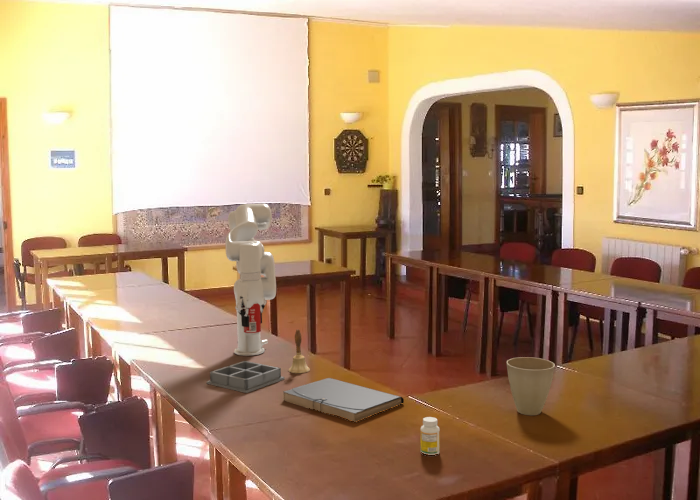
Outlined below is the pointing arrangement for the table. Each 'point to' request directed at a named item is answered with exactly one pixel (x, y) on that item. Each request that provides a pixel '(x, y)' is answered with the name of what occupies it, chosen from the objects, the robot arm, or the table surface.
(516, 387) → the plant pot
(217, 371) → the drink carrier
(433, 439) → the supplement bottle
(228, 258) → the robot arm
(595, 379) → the table surface
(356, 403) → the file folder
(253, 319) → the beverage can
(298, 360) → the hand bell
